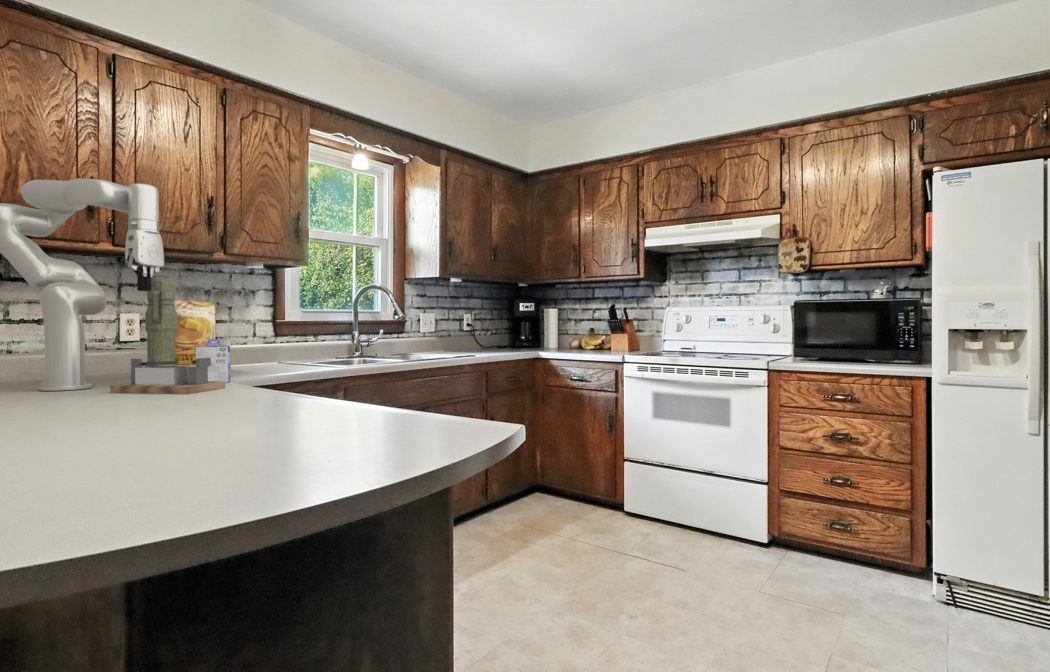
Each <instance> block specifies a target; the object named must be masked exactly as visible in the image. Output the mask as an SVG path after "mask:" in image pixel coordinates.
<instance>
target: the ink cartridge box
mask: <svg viewBox="0 0 1050 672" xmlns="http://www.w3.org/2000/svg"><path fill="white" fill-rule="evenodd" d="M210 341H215V343H209V342H210ZM220 343H221V339H220V338H215V339H208V343H207V346H197V347H196V359H198V358H211V366H208V381H225V383H229V382H231V377H232V376H231V345H221V344H220Z"/></svg>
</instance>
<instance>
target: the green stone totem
mask: <svg viewBox="0 0 1050 672" xmlns="http://www.w3.org/2000/svg"><path fill="white" fill-rule="evenodd" d="M151 286H152V290H151V291H146V292H147V295H146V296H147V308H146V312H145V313H144V314H145V317H144V318H145V319H144V321H145V324H144V325H145V330H146V333H147V334H146V340H147V343H146V344H147V346H146V347H147V350H146V351H147V352H146V353H147V354H146V355H147V356H146V357H147V358H148V357H158V362H162V361H176V331H177V312H176V310H175V305H174V300H176V297H175V296H176V295H175V293H176V288H175V287H176V286H175V282H174V280H173V278H172V277H170V276H169V275H153V277H151ZM147 358H146V359H147ZM165 365H177V364H165ZM158 366H159V365H158ZM145 367H148V365H147V366H145Z"/></svg>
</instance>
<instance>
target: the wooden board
mask: <svg viewBox="0 0 1050 672" xmlns="http://www.w3.org/2000/svg"><path fill="white" fill-rule="evenodd" d="M109 387H110V388H109V389H110V390H109V391H110V393H111V394H155V395H156V394H160V395H161V394H164V395H165V394H167V395H193V394H198V393H203V392H204V393H205V392H209V391H215V390H222V389H226V382H225V381H208V383H205V384H198V385H189V384H184V385H177V386H150V385H135V384H131V383H121V384H112V385H110V386H109Z"/></svg>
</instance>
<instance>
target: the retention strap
mask: <svg viewBox="0 0 1050 672" xmlns="http://www.w3.org/2000/svg"><path fill="white" fill-rule="evenodd" d="M193 363H196V360H184V361H162V362H151V361H150V362H147V361H142V367H146V366H147V365H165V364H193Z"/></svg>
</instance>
